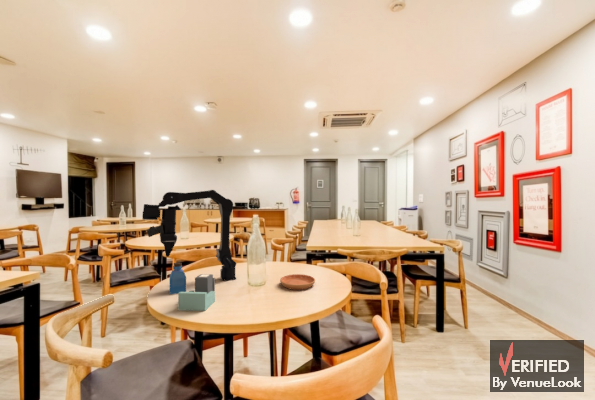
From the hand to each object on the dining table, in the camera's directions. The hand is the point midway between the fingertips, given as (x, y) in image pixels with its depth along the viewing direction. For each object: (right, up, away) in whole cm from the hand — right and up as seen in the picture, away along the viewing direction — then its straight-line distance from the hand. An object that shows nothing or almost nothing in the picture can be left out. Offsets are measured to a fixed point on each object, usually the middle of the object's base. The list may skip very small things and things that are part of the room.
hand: (167, 254), depth 116 cm
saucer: (+59, -15, +3) cm, 61 cm away
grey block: (+22, -14, -15) cm, 30 cm away
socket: (+22, -14, -20) cm, 33 cm away
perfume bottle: (+7, -15, -5) cm, 17 cm away
